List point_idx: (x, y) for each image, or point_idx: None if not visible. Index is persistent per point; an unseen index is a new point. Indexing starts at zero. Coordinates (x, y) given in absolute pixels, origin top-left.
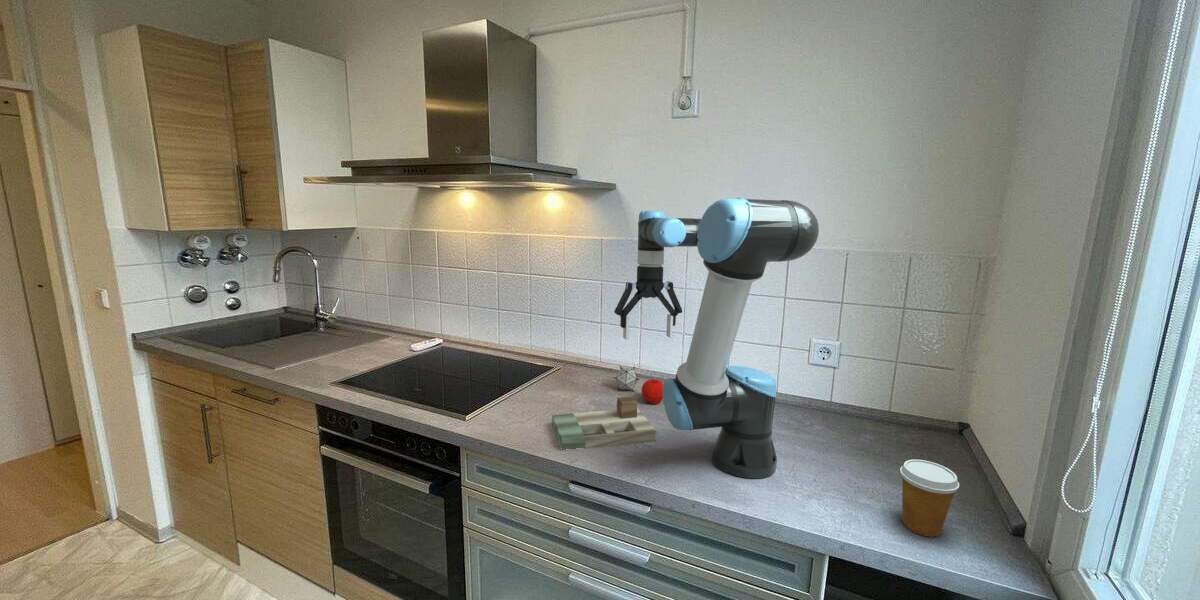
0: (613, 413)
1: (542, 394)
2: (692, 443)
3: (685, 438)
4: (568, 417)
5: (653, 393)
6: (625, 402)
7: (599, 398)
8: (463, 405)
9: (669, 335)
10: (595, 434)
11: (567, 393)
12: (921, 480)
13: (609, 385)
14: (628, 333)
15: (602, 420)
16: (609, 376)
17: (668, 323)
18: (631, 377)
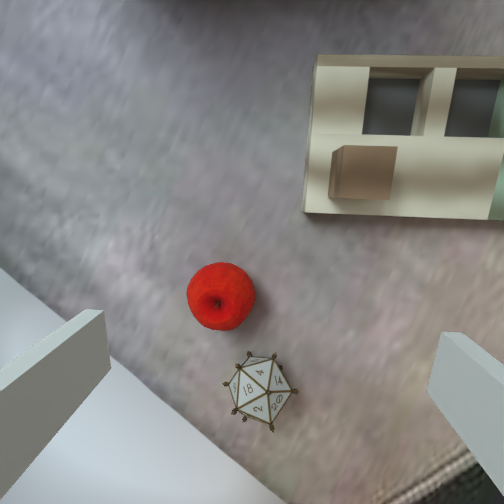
0: None
1: None
2: (228, 32)
3: (233, 64)
4: None
5: (233, 268)
6: (383, 150)
7: (343, 336)
8: None
9: (95, 327)
10: (446, 133)
11: (406, 381)
12: None
13: (289, 400)
14: (481, 363)
15: (431, 155)
16: (268, 447)
17: (18, 432)
18: (254, 374)
